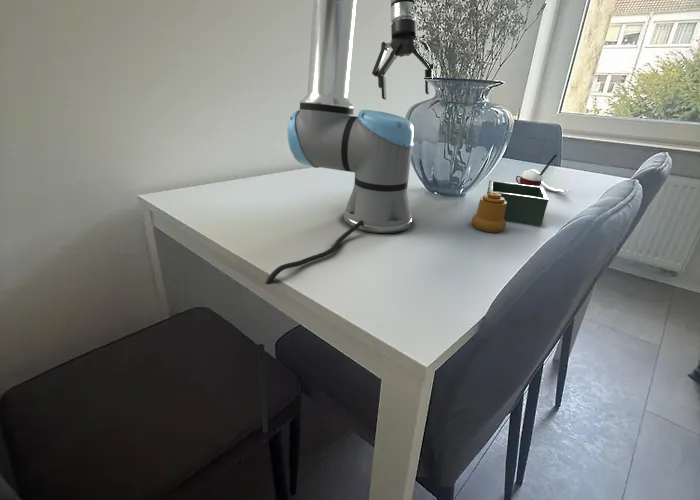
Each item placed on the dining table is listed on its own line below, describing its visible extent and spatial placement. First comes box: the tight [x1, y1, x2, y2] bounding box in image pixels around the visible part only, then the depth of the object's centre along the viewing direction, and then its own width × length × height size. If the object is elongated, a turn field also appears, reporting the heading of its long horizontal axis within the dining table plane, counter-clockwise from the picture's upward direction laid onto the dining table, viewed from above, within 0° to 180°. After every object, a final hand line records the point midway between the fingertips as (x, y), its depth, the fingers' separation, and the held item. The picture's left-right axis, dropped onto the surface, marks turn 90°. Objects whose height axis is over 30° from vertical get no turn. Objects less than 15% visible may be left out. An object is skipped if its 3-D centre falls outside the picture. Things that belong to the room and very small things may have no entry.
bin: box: [486, 179, 549, 227], centre depth 98 cm, size 12×13×7 cm
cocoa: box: [515, 154, 558, 187], centre depth 120 cm, size 10×6×12 cm, turn 23°
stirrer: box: [541, 181, 573, 193], centre depth 126 cm, size 20×4×5 cm
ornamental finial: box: [471, 192, 507, 234], centre depth 88 cm, size 8×8×8 cm
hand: (405, 96), depth 121 cm, fingers open, 13 cm apart
